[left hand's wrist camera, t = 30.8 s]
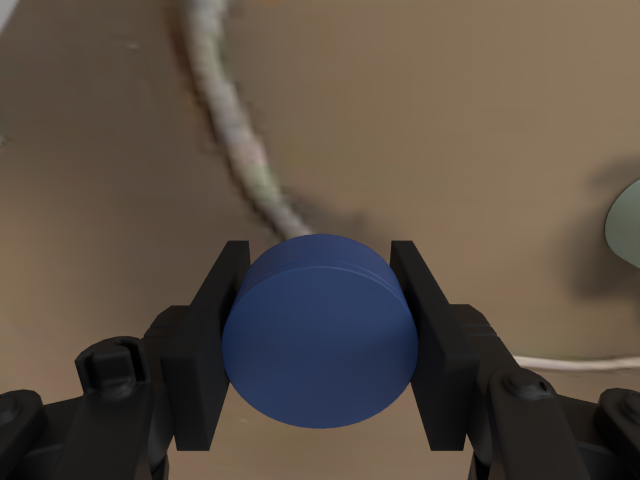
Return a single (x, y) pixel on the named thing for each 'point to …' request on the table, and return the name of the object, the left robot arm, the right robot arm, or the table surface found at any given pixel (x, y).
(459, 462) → the table surface
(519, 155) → the table surface
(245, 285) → the lid
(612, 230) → the green bottle
